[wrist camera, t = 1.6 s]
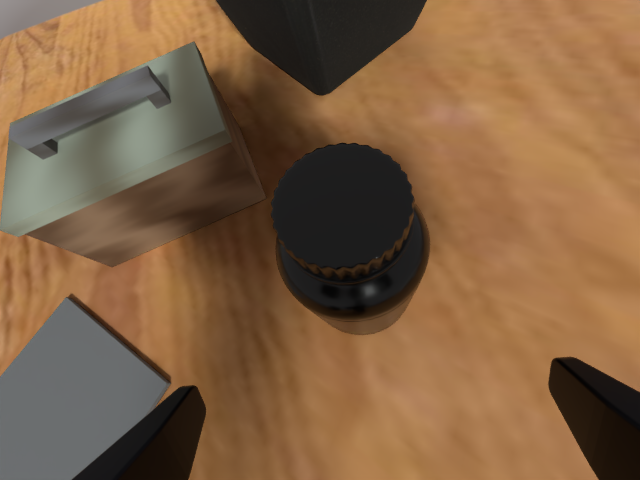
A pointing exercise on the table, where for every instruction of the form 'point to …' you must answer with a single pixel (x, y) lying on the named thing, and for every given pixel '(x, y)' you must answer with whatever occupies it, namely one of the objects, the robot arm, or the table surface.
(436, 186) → the table surface
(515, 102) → the table surface
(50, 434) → the mat
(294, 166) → the supplement bottle
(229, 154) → the toolbox
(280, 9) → the flower pot
